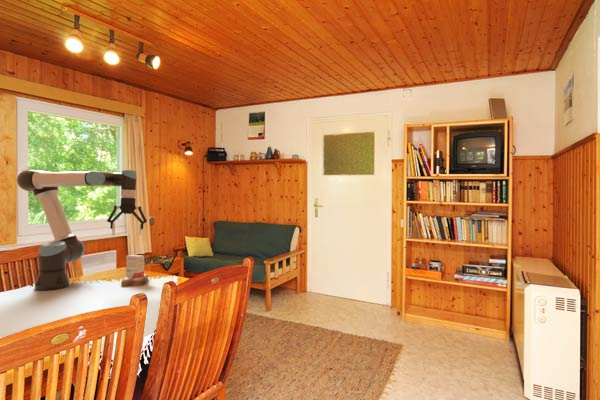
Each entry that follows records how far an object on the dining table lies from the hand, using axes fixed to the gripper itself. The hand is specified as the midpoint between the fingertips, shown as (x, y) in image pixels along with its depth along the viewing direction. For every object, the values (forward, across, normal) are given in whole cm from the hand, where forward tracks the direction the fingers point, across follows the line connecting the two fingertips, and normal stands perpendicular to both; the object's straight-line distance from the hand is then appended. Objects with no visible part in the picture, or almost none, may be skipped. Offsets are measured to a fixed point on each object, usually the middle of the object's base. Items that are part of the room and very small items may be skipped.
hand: (126, 235), depth 205 cm
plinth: (+26, +6, -3) cm, 27 cm away
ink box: (+23, +6, -3) cm, 24 cm away
